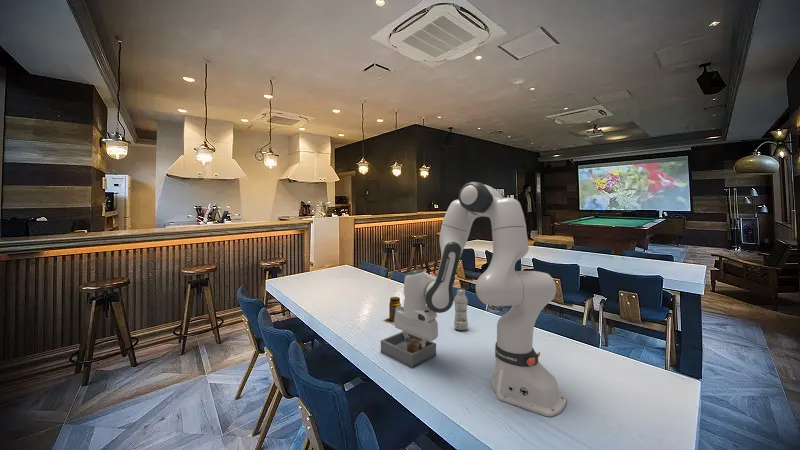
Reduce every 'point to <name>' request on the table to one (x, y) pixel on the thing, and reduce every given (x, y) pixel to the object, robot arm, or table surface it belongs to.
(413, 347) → the walnut cube
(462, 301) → the plastic bottle
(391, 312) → the condiment
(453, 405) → the table surface
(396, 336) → the tote
